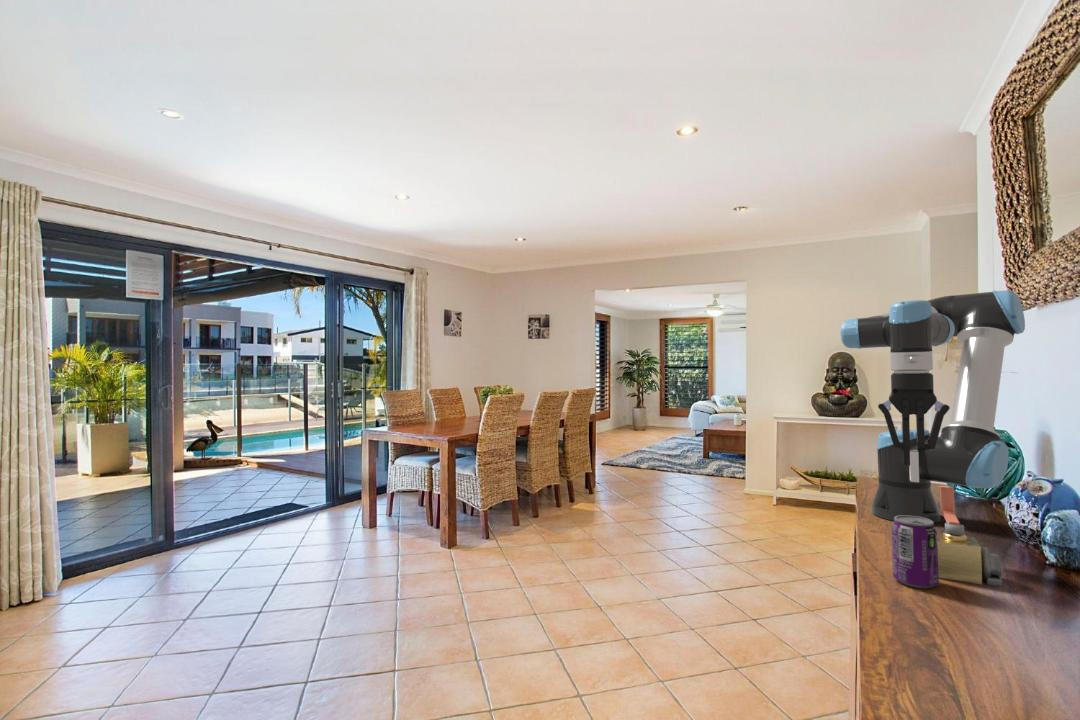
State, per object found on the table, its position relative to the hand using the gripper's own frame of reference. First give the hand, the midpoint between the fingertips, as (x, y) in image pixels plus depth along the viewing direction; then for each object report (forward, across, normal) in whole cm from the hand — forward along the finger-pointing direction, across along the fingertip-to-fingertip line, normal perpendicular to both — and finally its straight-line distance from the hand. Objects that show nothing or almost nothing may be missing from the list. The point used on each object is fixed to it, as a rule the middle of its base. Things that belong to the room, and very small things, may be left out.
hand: (914, 480), depth 114 cm
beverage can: (+16, -1, -17) cm, 24 cm away
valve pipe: (+16, +6, -9) cm, 19 cm away
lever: (+8, +6, -5) cm, 11 cm away
